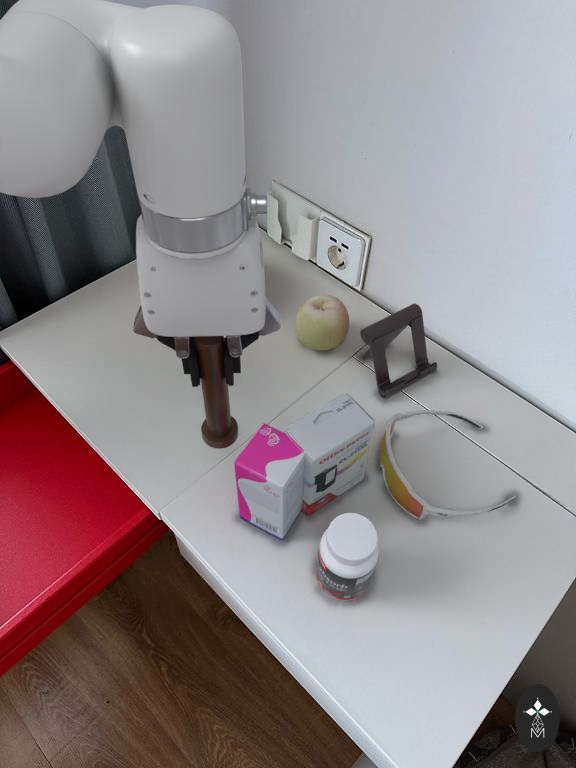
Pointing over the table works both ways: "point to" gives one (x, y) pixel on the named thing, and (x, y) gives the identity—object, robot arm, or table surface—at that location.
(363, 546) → the pill bottle
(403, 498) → the sunglasses
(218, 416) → the cylinder
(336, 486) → the ink box
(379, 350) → the tablet stand
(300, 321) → the fruit
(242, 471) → the supplement box
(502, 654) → the table surface
